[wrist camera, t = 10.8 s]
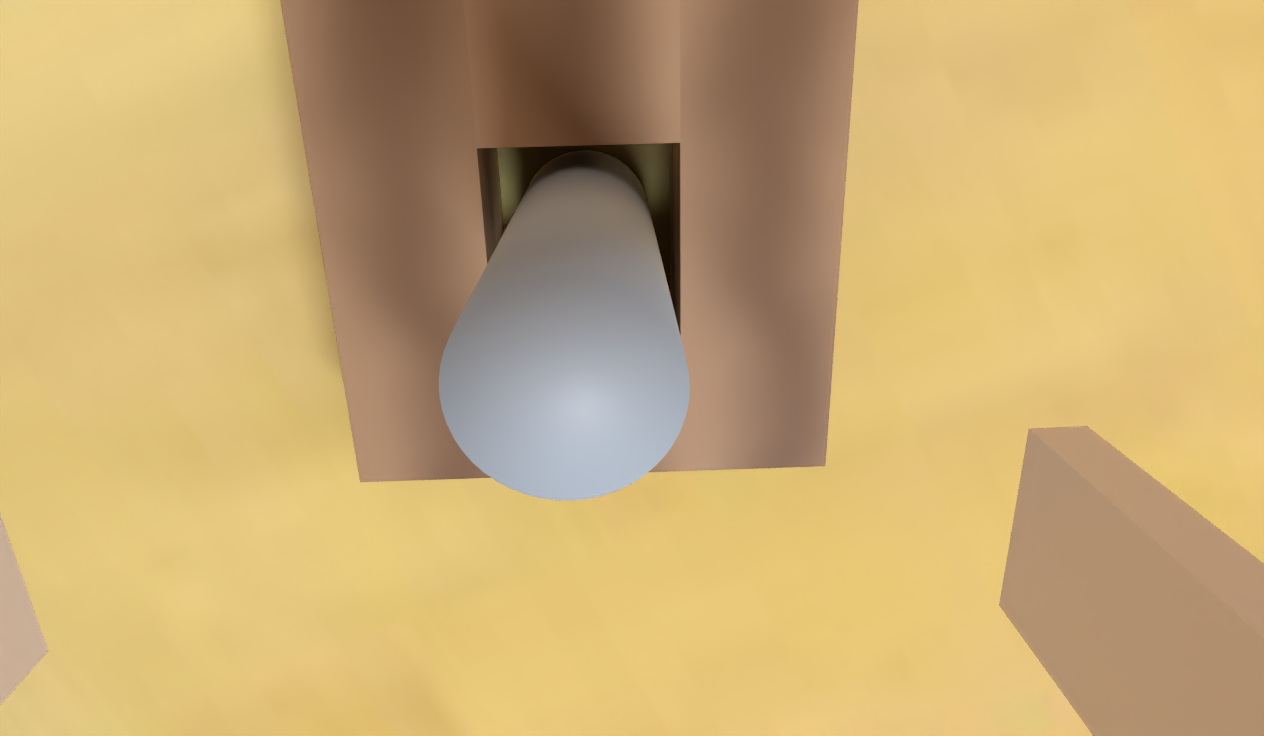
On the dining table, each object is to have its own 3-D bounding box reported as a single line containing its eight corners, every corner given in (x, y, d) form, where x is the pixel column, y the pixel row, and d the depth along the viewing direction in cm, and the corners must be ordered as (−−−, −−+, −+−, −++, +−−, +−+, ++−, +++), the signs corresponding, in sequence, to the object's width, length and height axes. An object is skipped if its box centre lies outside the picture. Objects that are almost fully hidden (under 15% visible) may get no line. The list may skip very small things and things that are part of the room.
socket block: (391, 425, 33) (360, 482, 28) (326, -25, 27) (274, -36, 23) (797, 411, 33) (825, 466, 29) (822, -37, 27) (862, -51, 23)
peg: (527, 277, 31) (451, 504, 16) (518, 151, 29) (424, 274, 14) (649, 273, 31) (689, 496, 16) (647, 148, 29) (690, 265, 14)
